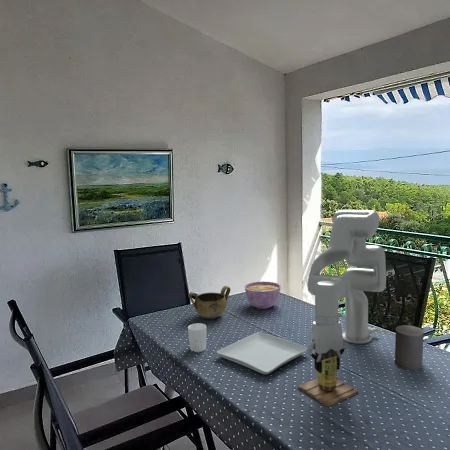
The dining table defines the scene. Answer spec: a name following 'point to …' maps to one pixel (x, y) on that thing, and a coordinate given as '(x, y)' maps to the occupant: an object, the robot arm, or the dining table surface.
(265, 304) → the bowl of food
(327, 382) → the sauce bottle
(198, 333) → the white cup
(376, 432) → the dining table surface
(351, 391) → the trivet
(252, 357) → the square plate
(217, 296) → the ceramic bowl
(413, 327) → the pillar candle
